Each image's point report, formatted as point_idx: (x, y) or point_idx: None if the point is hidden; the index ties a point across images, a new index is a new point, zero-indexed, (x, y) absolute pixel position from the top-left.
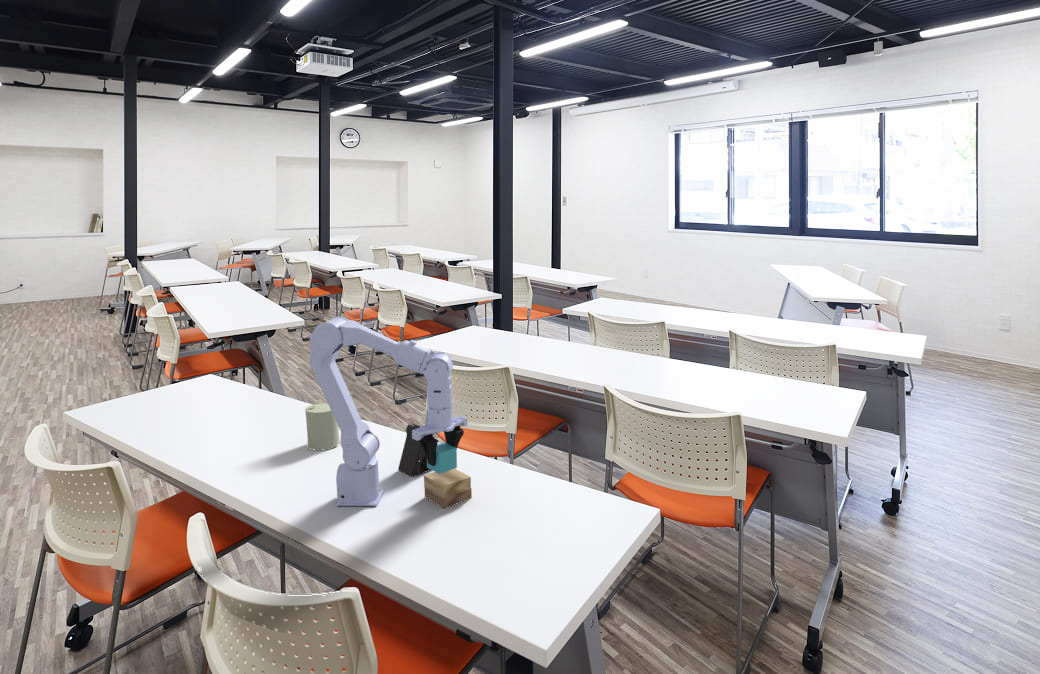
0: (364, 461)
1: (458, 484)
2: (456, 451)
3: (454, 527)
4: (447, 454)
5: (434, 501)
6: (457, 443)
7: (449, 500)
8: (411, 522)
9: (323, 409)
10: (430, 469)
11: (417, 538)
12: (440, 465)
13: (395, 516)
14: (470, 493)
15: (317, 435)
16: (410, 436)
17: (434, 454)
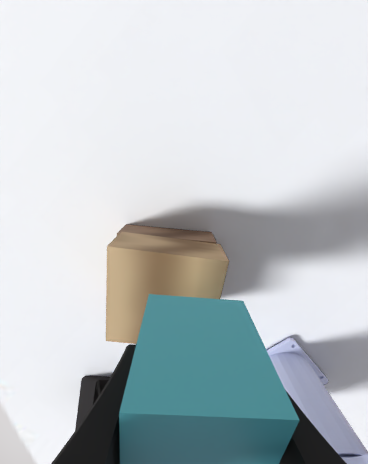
0: None
1: (163, 248)
2: (129, 376)
3: (272, 137)
4: (212, 380)
5: None
6: (72, 460)
7: (198, 236)
8: (306, 239)
9: None
10: (105, 378)
11: (363, 170)
12: (252, 330)
13: (302, 282)
14: (125, 228)
15: None
16: None
17: (299, 424)
